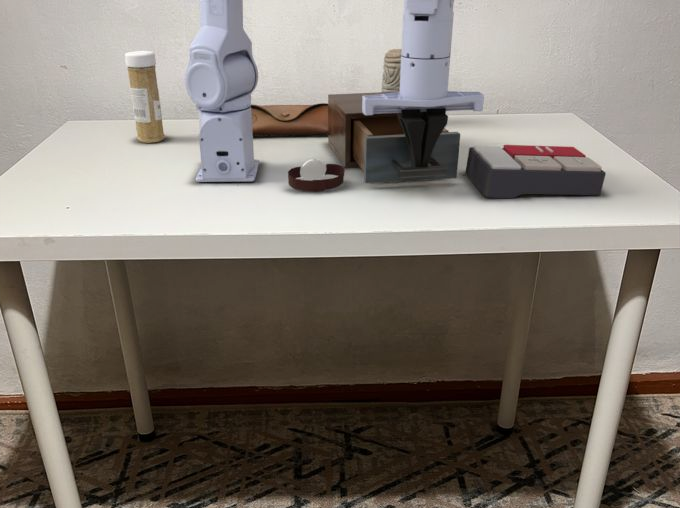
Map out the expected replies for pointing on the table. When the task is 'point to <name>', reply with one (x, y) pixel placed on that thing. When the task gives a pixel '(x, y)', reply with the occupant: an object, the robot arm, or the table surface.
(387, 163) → the drawer
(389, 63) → the carving
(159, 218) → the table surface
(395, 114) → the cabinet
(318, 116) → the sunglasses case
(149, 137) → the sprinkles bottle
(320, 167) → the watch
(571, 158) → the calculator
